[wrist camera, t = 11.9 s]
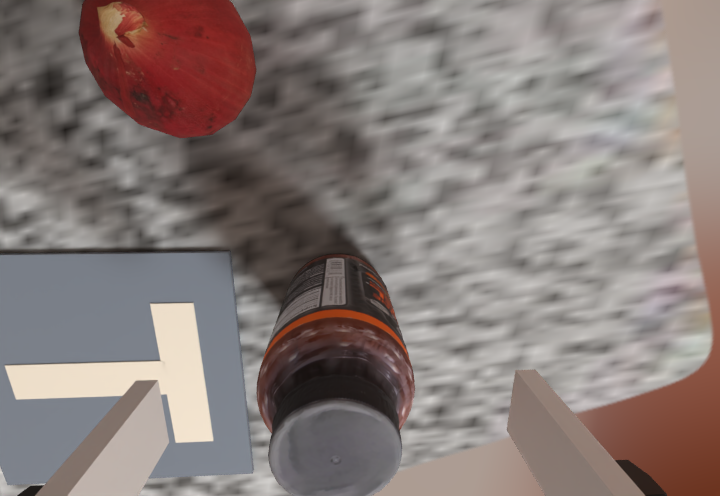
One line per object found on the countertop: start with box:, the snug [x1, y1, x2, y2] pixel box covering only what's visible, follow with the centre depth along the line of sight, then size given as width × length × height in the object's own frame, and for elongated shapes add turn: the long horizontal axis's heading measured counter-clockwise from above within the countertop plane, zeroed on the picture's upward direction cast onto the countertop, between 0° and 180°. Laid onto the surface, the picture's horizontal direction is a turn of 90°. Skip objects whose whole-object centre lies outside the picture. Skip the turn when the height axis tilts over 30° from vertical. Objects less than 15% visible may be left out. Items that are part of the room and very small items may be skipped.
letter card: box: [0, 251, 254, 485], centre depth 22 cm, size 16×16×1 cm
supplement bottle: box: [257, 254, 415, 496], centre depth 16 cm, size 6×6×11 cm
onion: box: [79, 0, 256, 138], centre depth 13 cm, size 6×6×8 cm
